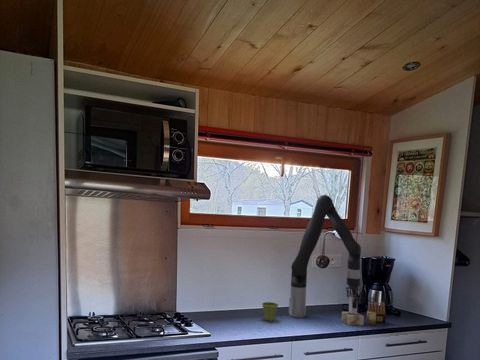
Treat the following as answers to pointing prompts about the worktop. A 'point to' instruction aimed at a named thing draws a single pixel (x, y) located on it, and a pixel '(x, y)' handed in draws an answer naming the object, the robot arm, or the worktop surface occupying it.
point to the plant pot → (269, 310)
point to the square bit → (352, 307)
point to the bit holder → (352, 319)
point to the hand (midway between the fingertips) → (352, 307)
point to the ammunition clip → (378, 312)
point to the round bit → (371, 318)
